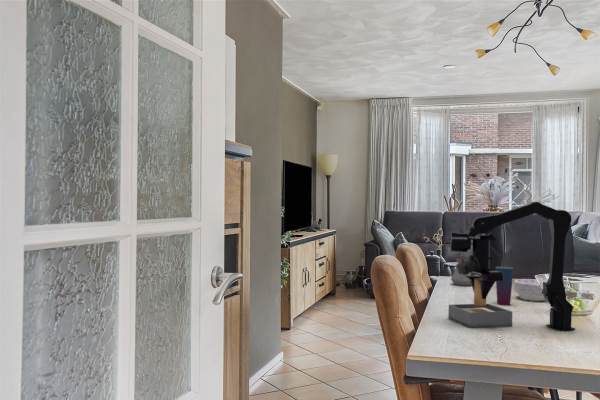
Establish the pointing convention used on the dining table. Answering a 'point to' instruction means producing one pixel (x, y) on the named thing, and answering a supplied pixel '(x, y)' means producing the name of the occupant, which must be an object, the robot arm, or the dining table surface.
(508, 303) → the cup
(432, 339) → the dining table surface
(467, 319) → the socket tray
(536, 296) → the paper bowls
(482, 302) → the peg
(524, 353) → the dining table surface
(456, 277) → the grey tied sack
